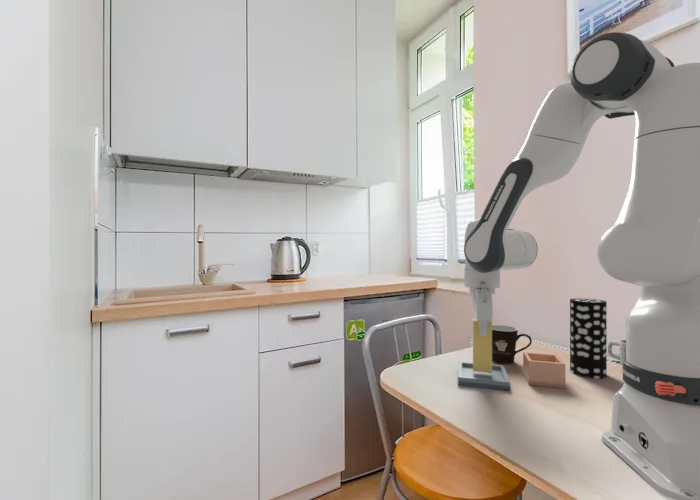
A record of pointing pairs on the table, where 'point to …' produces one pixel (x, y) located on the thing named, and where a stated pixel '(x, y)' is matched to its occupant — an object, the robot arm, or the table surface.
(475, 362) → the peg
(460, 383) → the tray
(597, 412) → the table surface
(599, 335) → the white-spotted black cylinder
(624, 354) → the mug
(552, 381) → the pink open box
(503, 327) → the coffee mug
